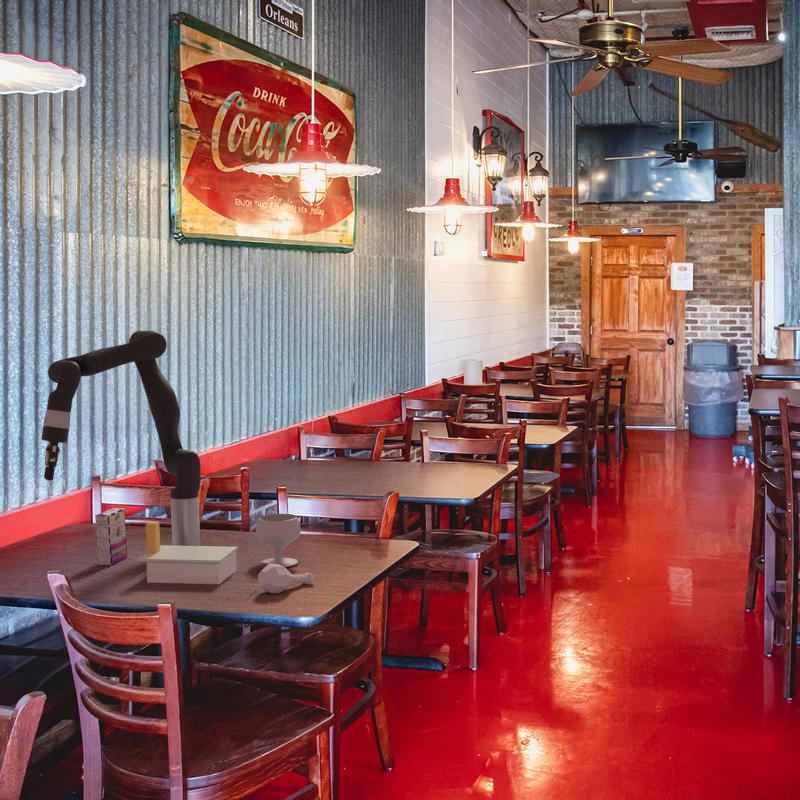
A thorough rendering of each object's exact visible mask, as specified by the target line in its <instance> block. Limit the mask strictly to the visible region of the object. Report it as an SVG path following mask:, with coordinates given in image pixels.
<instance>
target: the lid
mask: <svg viewBox="0 0 800 800" xmlns="http://www.w3.org/2000/svg"><path fill="white" fill-rule="evenodd" d="M160 532H161V531H160V521H159V520H155V521H154V520H153V521H152V520H151V521H148V522H145V533H146V534H145V535H146V536H145V537H146V553H145V554H143V555H141V556H140V557H138V558H137V562H188V563H221V562H222V561H223V560H225V559H226V558H227V557H229V556H230V555H231V554H233V553H234V552H235V551H236V552H237V551H238V550H239V546H222V545H221V546H213V545H211V546H209V545H200V546H172V544H171V545H170V544H169V545H167V544H165V545H162V544H161V536H160V535H161V533H160Z"/></svg>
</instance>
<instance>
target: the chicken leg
mask: <svg viewBox="0 0 800 800" xmlns="http://www.w3.org/2000/svg"><path fill="white" fill-rule="evenodd" d="M281 565H282V564H280V565H278V564H267V565H266V566H265V567H264V568H263V569H261V571H260V572H259V573H258V574H257V583H258V585H259V586H260V587H261V589H262V590H263V591H264V592H267V593H269V594H281V593H283V592H284V591H285V590H286V589H287V588H288V587H290V586H291V584H293V583H294V584H297V583H299V584H301V583H302V584H305V585H311V584H312V583H313V582H314V580H315V576H314V575H313V573H310V572H306V573H304V574H292V573H291V572H290V571H289V570H288V569H287V567H284V566H281ZM280 592H281V593H280Z"/></svg>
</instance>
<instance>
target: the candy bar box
mask: <svg viewBox="0 0 800 800" xmlns="http://www.w3.org/2000/svg"><path fill="white" fill-rule="evenodd" d="M94 517H95V531H96V532H95V533H96V546H97V563H98V564H97V565H98V566H113V564H114V565H115V564H118V563H119V562H121V561H123V560H124V558H125V559H126V558H127V557H128V547H127V529H126V515H125V508H122V507H113V508H112V507H111V508H109V509H106V510H104V511H102V512H100V513H97V514H95V516H94ZM122 559H123V560H122Z"/></svg>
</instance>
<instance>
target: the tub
mask: <svg viewBox="0 0 800 800" xmlns="http://www.w3.org/2000/svg"><path fill="white" fill-rule="evenodd" d="M237 569H238V568H237V551H235V552H234V553H233V554H231V555H230V556H229V557H227V558H226V559H225V560H223V561H222V562H221V563H188V562H146V582H147V583H155V584H156V583H157V584H159V583H160V584H193V585H198V584H199V585H200V584H201V585H220V584H222V583H223V582H224V581H226V579H228V578H229V577H230V576H232V575H233V574H234V573H235V572H236V571H237Z"/></svg>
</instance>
